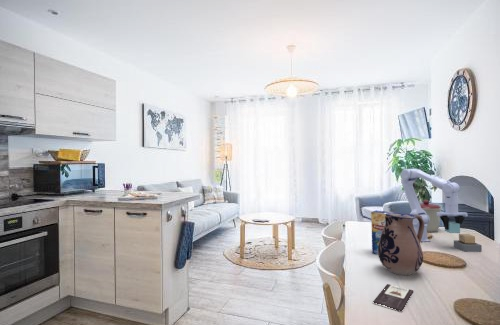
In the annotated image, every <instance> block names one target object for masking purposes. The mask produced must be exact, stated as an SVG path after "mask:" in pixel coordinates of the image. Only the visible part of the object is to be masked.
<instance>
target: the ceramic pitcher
mask: <svg viewBox="0 0 500 325" xmlns="http://www.w3.org/2000/svg"><path fill="white" fill-rule="evenodd" d="M385 215H386V216H385V221H386V223H385V226H384V228H383V230H382V233H381V237H380V240H379V245H378V259H379V261H380V263H381V265H382V266H383V267H384V268H385V269H386V270H387V271H389V272H391V273H392V274H396V275H399V276H410V275H411V274H412V275H413V274H414V273H417V271H419V270H420V269H421V267H422V264H423V262H424V253H423V249H422V246H421V242H422V241H421V239H422V235H423V231H424V221H423V219H422V216H420V215H417V214H410V213H402V212H397V213H386V214H385ZM415 218H417V219H418V221H419V230H418V234H417V235H416V232H415V229H414V226H413V220H414V219H415Z"/></svg>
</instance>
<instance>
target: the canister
mask: <svg viewBox="0 0 500 325" xmlns="http://www.w3.org/2000/svg"><path fill="white" fill-rule="evenodd" d="M419 203H420V206H421V208H422V209H423V210H424V211H425V212H426V214H427V215H428V216H429V218H430V222H429V223H428V225H427V233H434V232H437V231H439V229H440V221H441V218H440V216H437V212H442V209H443V207H442V206H440V205H439V204H435V203H430V201H429V200H428V199H424V200H422V203H421V202H419ZM417 215H418V214H417Z"/></svg>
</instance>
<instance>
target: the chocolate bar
mask: <svg viewBox="0 0 500 325" xmlns="http://www.w3.org/2000/svg"><path fill="white" fill-rule="evenodd" d="M384 289H385V290H384ZM413 294H414V290H413V289H409V288H405V287H401V286H396V285H395V284H394V285H393V284H389V283H387V284H386V285H385V286H384V287H383V289H381V291H380V292H379V293H378V295H377V296H376V297H375V299H374V300H373V301H372V303H373V302H374V303H377V304H381V305H385V306H387V307H390V308H393V309H396V310H400V311H402V310H403V309H404V310H405V308H404V307H406V306H407V304H408V302H409V301H408V300H410V299H409V298H411V297H410V296H412V295H413ZM407 301H408V302H407ZM406 303H407V304H406ZM405 305H406V306H405ZM393 309H392V310H393ZM396 310H395V311H396ZM404 310H403V311H404ZM403 311H402V312H403Z"/></svg>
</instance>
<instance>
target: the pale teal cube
mask: <svg viewBox="0 0 500 325" xmlns="http://www.w3.org/2000/svg"><path fill="white" fill-rule="evenodd" d="M444 231H445V232H446V233H449V234H461V227H460V224H459V223H456V221H449V229H448V230H446V229H445V228H444Z"/></svg>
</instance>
